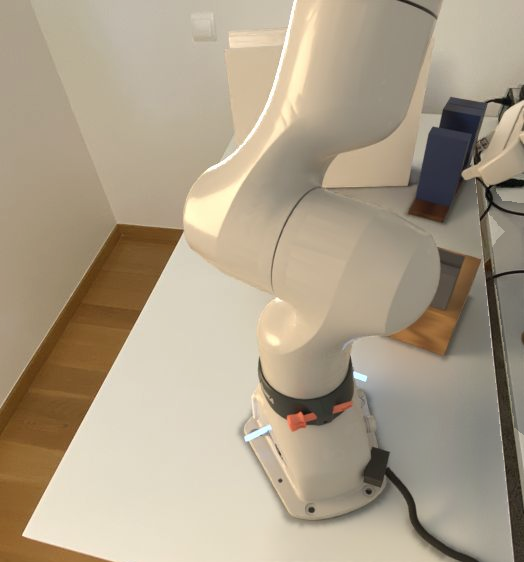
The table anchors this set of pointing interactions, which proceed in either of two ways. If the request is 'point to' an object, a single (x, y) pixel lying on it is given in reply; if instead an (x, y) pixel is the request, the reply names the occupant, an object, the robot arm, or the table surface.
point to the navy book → (442, 165)
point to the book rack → (467, 120)
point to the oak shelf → (442, 313)
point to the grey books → (447, 278)
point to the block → (346, 166)
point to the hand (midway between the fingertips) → (471, 160)
